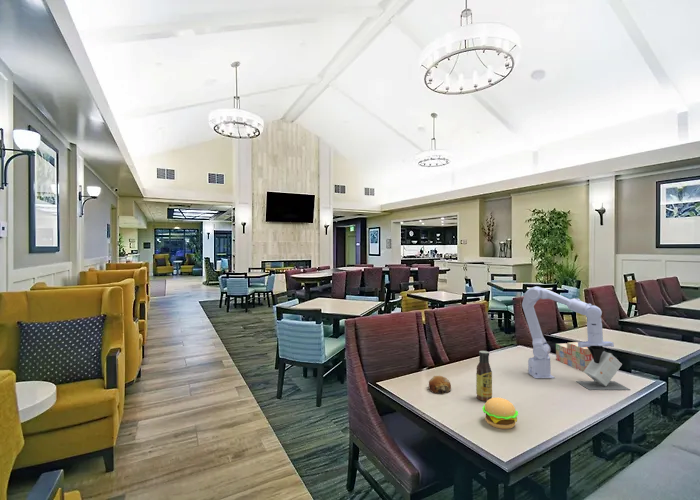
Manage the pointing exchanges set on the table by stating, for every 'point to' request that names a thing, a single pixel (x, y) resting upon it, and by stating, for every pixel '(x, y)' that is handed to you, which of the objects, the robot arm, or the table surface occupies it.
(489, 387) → the sauce bottle
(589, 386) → the mat
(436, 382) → the bread roll
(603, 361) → the small box
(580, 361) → the stack of blocks
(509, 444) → the table surface
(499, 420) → the hamburger
